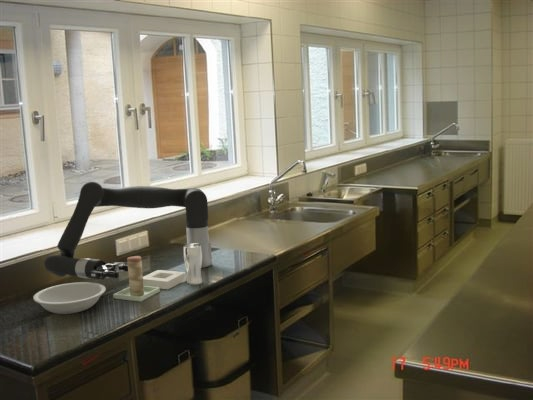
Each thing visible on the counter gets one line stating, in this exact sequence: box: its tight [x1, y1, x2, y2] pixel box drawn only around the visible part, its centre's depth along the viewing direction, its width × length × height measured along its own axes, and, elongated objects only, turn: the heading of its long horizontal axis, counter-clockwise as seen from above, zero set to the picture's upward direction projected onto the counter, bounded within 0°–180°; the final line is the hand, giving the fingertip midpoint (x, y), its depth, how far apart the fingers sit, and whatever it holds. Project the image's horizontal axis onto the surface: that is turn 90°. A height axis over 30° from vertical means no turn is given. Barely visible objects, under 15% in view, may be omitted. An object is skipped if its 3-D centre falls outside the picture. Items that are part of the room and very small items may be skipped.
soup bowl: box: [32, 281, 107, 315], centre depth 218 cm, size 24×24×7 cm
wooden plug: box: [126, 255, 144, 296], centre depth 230 cm, size 5×5×14 cm
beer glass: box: [183, 243, 203, 286], centre depth 243 cm, size 7×7×15 cm
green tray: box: [112, 286, 161, 302], centre depth 231 cm, size 12×12×2 cm
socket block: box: [143, 269, 187, 290], centre depth 244 cm, size 13×13×4 cm
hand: (125, 271), depth 232 cm, fingers open, 8 cm apart
